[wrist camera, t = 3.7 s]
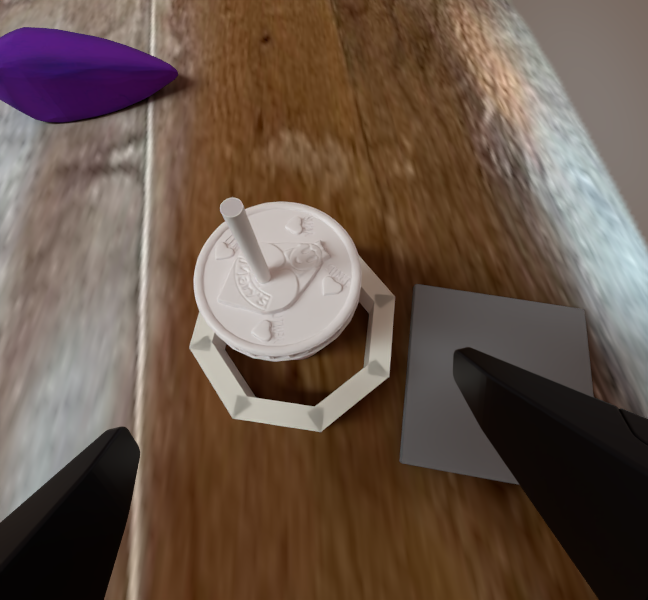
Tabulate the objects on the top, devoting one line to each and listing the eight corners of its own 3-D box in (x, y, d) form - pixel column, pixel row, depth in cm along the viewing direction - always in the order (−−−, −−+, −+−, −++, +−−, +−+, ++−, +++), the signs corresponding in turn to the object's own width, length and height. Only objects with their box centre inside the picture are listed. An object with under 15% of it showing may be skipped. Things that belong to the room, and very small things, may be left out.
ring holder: (274, 467, 18) (267, 475, 16) (179, 314, 21) (161, 303, 19) (421, 348, 21) (434, 340, 18) (316, 225, 24) (315, 205, 21)
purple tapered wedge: (168, 60, 24) (-65, 70, 22) (188, 117, 29) (-2, 131, 26) (165, 20, 25) (-52, 24, 23) (184, 80, 30) (4, 89, 28)
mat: (595, 497, 18) (604, 500, 17) (399, 461, 18) (401, 463, 18) (577, 311, 21) (584, 309, 21) (413, 287, 22) (415, 283, 21)
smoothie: (234, 313, 21) (86, 156, 8) (318, 271, 22) (308, 70, 9) (275, 400, 20) (172, 382, 6) (364, 350, 21) (438, 244, 7)
